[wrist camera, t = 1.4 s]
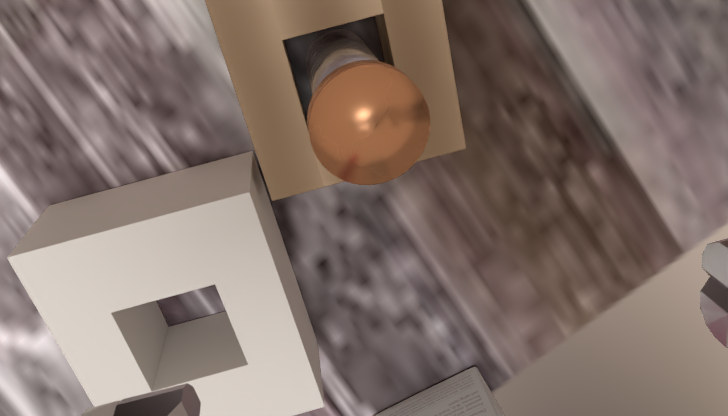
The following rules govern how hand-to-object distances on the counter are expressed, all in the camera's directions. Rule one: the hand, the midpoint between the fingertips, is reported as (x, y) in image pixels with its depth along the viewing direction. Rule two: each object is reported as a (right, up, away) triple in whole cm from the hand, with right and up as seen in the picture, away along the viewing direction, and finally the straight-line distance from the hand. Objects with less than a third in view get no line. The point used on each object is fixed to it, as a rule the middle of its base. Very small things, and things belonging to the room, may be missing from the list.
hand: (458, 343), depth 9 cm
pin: (-3, +9, +18) cm, 20 cm away
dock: (-10, -2, +22) cm, 24 cm away
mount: (-3, +9, +18) cm, 20 cm away
